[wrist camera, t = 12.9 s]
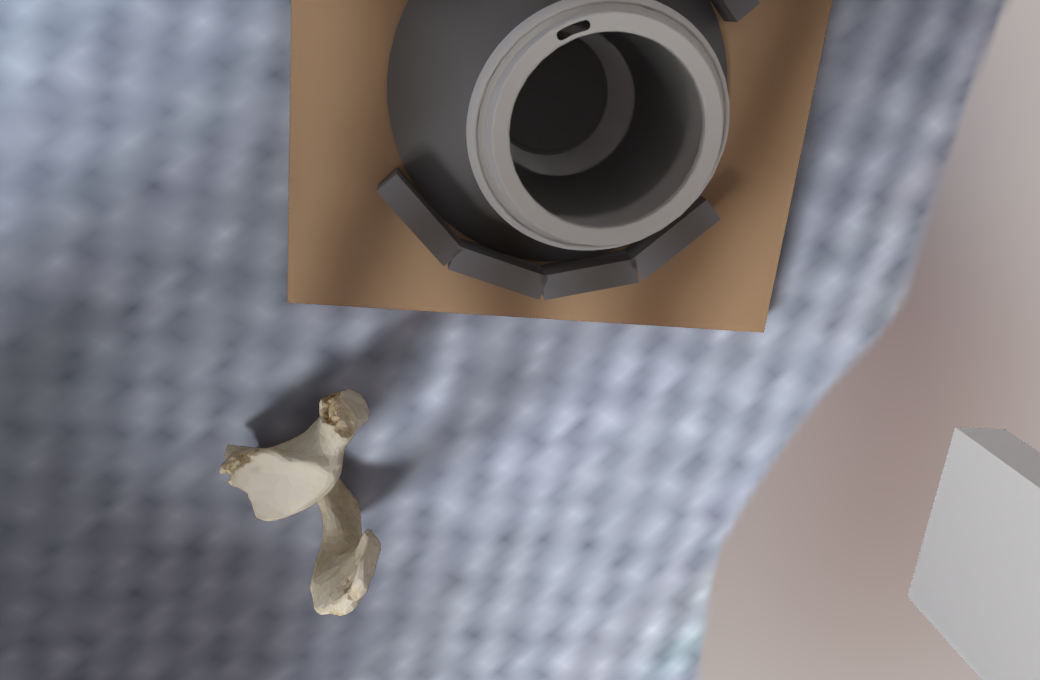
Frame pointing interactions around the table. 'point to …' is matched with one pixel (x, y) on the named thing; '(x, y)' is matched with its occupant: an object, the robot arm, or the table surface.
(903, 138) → the table surface
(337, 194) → the ring holder
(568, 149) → the cup
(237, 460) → the bone
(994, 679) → the robot arm
